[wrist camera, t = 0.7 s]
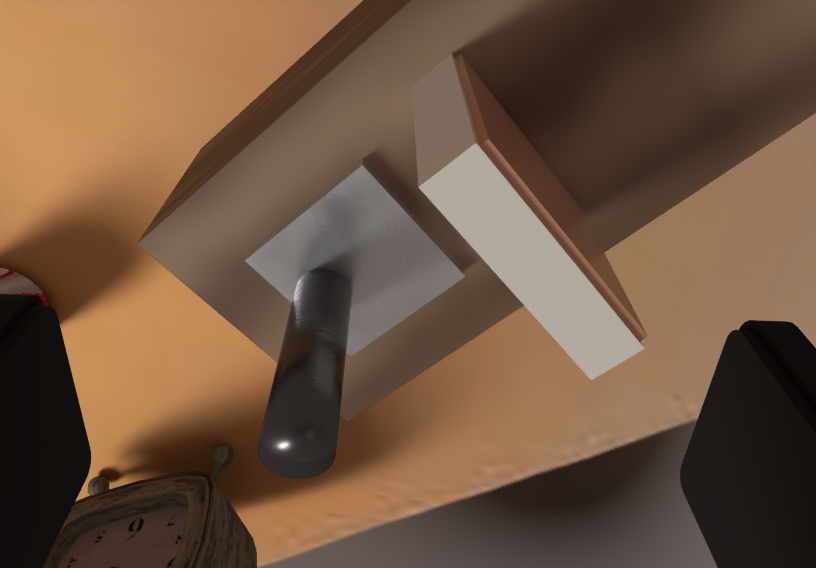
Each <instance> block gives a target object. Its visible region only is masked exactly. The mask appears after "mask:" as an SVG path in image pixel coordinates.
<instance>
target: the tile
mask: <svg viewBox="0 0 816 568" xmlns="http://www.w3.org/2000/svg"><path fill="white" fill-rule="evenodd" d="M412 94H413V110H414V126H415V141H416V157H417V173H418V187H419V188H420V190H421V191H422V192H423V193H424V194H425V195H426V196H427V197H428V199H429V200H430V201H431V202H432V203H433V204H434V205H435V206H436V207H437V209H438V210H439V211H440V212H441V213H442V214H443V215H444V216H445V217H446V219H447V220H448V221H449V222H450V223H451V224H452V225H453V226H454V228H455V229H456V230H457V231H458V232H459V233H460V234H461V235H462V236H463V238H464V239H465V240H466V241H467V242H468V243H469V244H470V245H471V247H472V248H473V249H474V250H475V251H476V252H477V253H478V254H479V255H480V257H481V258H482V259H483V260H484V261H485V262H486V263H487V264H488V265H489V267H490V268H491V269H492V270H493V271H494V272H495V273H496V274H497V276H498V277H499V278H500V279H501V280H502V281H503V282H504V283H505V284H506V286H507V287H508V288H509V289H510V290H511V291H512V292H513V293H514V295H515V296H516V297H517V298H518V299H519V300H520V301H521V302H522V303H523V305H524V306H525V307H526V308H527V309H528V310H529V311H530V312H531V313H532V315H533V316H534V317H535V318H536V319H537V320H538V321H539V322H540V324H541V325H542V326H543V327H544V328H545V329H546V330H547V331H548V332H549V334H550V335H551V336H552V337H553V338H554V339H555V340H556V341H557V343H558V344H559V345H560V346H561V347H562V348H563V349H564V350H565V351H566V353H567V354H568V355H569V356H570V357H571V358H572V359H573V360H574V362H575V363H576V364H577V365H578V366H579V367H580V368H581V369H582V370H583V372H584V373H585V374H586V375H587V376H588V377H589V378H590V379H591V380H593V379H594V378H596V377H598V376H599V375H601V374H603V373H604V372H606V371H608V370H609V369H611V368H613V367H615V366H616V365H618V364H620V363H621V362H623V361H625V360H626V359H628V358H630V357H631V356H633V355H635V354H636V353H638V352H640V351H641V350H643V349H644V347H643V345H642V343H641V340H642V339H644V338H646V337H647V334H646V332H645V330H644V328H643V326H642V324H641V322H640V320H639V319H638V317H637V315H636V313H635V311H634V309H633V307H632V305H631V303H630V301H629V299H628V297H627V296H626V294H625V292H624V290H623V288H622V286H621V284H620V282H619V280H618V278H617V276H616V274H615V273H614V271H613V269H612V267H611V265H610V263H609V261H608V259H607V257H606V255H605V253H604V252H603V250H602V248H601V246H600V244H599V242H598V240H597V238H596V236H595V234H594V232H593V230H592V229H591V227H590V225H589V223H588V221H587V219H586V217H585V215H584V213H583V211H582V209H581V208H580V206H579V205H578V204H577V202H576V201H575V200H574V199H573V197H572V196H571V195H570V193H569V192H568V191H567V190H566V188H565V187H564V186H563V184H562V183H561V182H560V181H559V179H558V178H557V177H556V175H555V174H554V173H553V172H552V170H551V169H550V168H549V166H548V165H547V164H546V163H545V161H544V160H543V159H542V157H541V156H540V155H539V153H538V152H537V151H536V150H535V148H534V147H533V146H532V144H531V143H530V142H529V141H528V139H527V138H526V137H525V135H524V134H523V133H522V132H521V130H520V129H519V128H518V126H517V125H516V124H515V123H514V121H513V120H512V119H511V117H510V116H509V115H508V114H507V112H506V111H505V110H504V108H503V107H502V106H501V104H500V103H499V102H498V101H497V99H496V98H495V97H494V95H493V94H492V93H491V92H490V90H489V89H488V88H487V86H486V85H485V84H484V83H483V81H482V80H481V79H480V77H479V76H478V75H477V74H476V72H475V71H474V70H473V68H472V67H471V66H470V65H469V63H468V62H467V61H466V59H465V58H464V57H463V55H462V54H460V55H459V56H458V57H456V58H455V57H454V56H453V55H452V54H450V55H449V56H448V57H447V58H445V59H444V60H443V61H442V62H441V63H439V64H438V65H437V66H436V67H435V68H433V69H432V70H431V71H430V72H429V73H428V74H426V75H425V76H424V77H423V78H422V79H420V80H419V81H418V82H417V83H416V84H414V85H413V86H412Z"/></svg>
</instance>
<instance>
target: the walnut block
mask: <svg viewBox="0 0 816 568" xmlns="http://www.w3.org/2000/svg"><path fill="white" fill-rule="evenodd" d="M450 54H452V55H453V56H454V57H455V58H456V57H458V56H459V55H460V54H462V55H463V57H464V58H465V59H466V61H467V62H468V63H469V65H470V66H471V67H472V68H473V70H474V71H475V72H476V74H477V75H478V76H479V77H480V79H481V80H482V81H483V83H484V84H485V85H486V86H487V88H488V89H489V90H490V92H491V93H492V94H493V95H494V97H495V98H496V99H497V101H498V102H499V103H500V104H501V106H502V107H503V108H504V110H505V111H506V112H507V114H508V115H509V116H510V117H511V119H512V120H513V121H514V123H515V124H516V125H517V126H518V128H519V129H520V130H521V132H522V133H523V134H524V135H525V137H526V138H527V139H528V141H529V142H530V143H531V144H532V146H533V147H534V148H535V150H536V151H537V152H538V153H539V155H540V156H541V157H542V159H543V160H544V161H545V163H546V164H547V165H548V166H549V168H550V169H551V170H552V172H553V173H554V174H555V175H556V177H557V178H558V179H559V181H560V182H561V183H562V184H563V186H564V187H565V188H566V190H567V191H568V192H569V193H570V195H571V196H572V197H573V199H574V200H575V201H576V202H577V204H578V205H579V206H580V208H581V209H582V211H583V213H584V215H585V217H586V219H587V221H588V223H589V225H590V227H591V229H592V230H593V232H594V234H595V236H596V238H597V240H598V242H599V244H600V246H601V248H602V250H603V252H605V251H607V250H609V249H610V248H612V247H613V246H615V245H616V244H618V243H619V242H621V241H622V240H624V239H625V238H627V237H628V236H630V235H631V234H633V233H634V232H636V231H637V230H639V229H640V228H642V227H643V226H645V225H646V224H648V223H649V222H651V221H653V220H654V219H656V218H657V217H659V216H660V215H662V214H663V213H665V212H666V211H668V210H669V209H671V208H672V207H674V206H675V205H677V204H678V203H680V202H681V201H683V200H684V199H686V198H687V197H689V196H690V195H692V194H693V193H695V192H697V191H698V190H700V189H701V188H703V187H704V186H706V185H707V184H709V183H710V182H712V181H713V180H715V179H716V178H718V177H719V176H721V175H722V174H724V173H725V172H727V171H728V170H730V169H731V168H733V167H734V166H736V165H737V164H739V163H741V162H742V161H744V160H745V159H747V158H748V157H750V156H751V155H753V154H754V153H756V152H757V151H759V150H760V149H762V148H763V147H765V146H766V145H768V144H769V143H771V142H772V141H774V140H775V139H777V138H778V137H780V136H781V135H783V134H785V133H786V132H788V131H789V130H791V129H792V128H794V127H795V126H797V125H798V124H800V123H801V122H803V121H804V120H806V119H807V118H809V117H810V116H812V115H813V114H815V113H816V0H363V1H362V2H361V3H360V4H359V5H358V6H357V7H356V8H355V9H354V10H352V11H351V12H350V13H349V14H348V15H347V16H346V17H345V18H344V19H343V20H342V21H340V22H339V23H338V24H337V25H336V26H335V27H334V28H333V29H332V30H331V31H329V32H328V33H327V34H326V35H325V36H324V37H323V38H322V39H321V40H320V41H319V42H317V43H316V44H315V45H314V46H313V47H312V48H311V49H310V50H309V51H308V52H306V53H305V54H304V55H303V56H302V57H301V58H300V59H299V60H298V61H297V62H296V63H294V64H293V65H292V66H291V67H290V68H289V69H288V70H287V71H286V72H285V73H284V74H282V75H281V76H280V77H279V78H278V79H277V80H276V81H275V82H274V83H273V84H271V85H270V86H269V87H268V88H267V89H266V90H265V91H264V92H263V93H262V94H261V95H259V96H258V97H257V98H256V99H255V100H254V101H253V102H252V103H251V104H250V105H249V106H247V107H246V108H245V109H244V110H243V111H242V112H241V113H240V114H239V115H238V116H236V117H235V118H234V119H233V120H232V121H231V122H230V123H229V124H228V125H227V126H226V127H224V128H223V129H222V130H221V131H220V132H219V133H218V134H217V135H216V136H215V137H213V138H212V139H211V140H210V141H209V142H208V143H207V144H206V145H205V146H204V147H203V148H201V150H200V151H199V153H198V154H197V156H196V157H195V159H194V160H193V162H192V163H191V164H190V166H189V167H188V169H187V170H186V172H185V173H184V175H183V176H182V178H181V179H180V181H179V182H178V184H177V185H176V187H175V188H174V190H173V191H172V193H171V194H170V196H169V197H168V199H167V200H166V202H165V203H164V205H163V206H162V208H161V209H160V211H159V212H158V214H157V215H156V217H155V218H154V220H153V221H152V222H151V224H150V225H149V227H148V228H147V230H146V231H145V233H144V234H143V236H142V237H141V239H140V240H139V242H138V243H137V244H138V245H139V246H140V247H141V248H142V249H144V250H145V251H146V252H147V253H148V254H149V255H151V256H152V257H153V258H154V259H155V260H157V261H158V262H159V263H160V264H161V265H162V266H164V267H165V268H166V269H167V270H168V271H170V272H171V273H172V274H173V275H174V276H175V277H177V278H178V279H179V280H180V281H181V282H183V283H184V284H185V285H186V286H187V287H188V288H190V289H191V290H192V291H193V292H194V293H196V294H197V295H198V296H199V297H200V298H201V299H203V300H204V301H205V302H206V303H207V304H209V305H210V306H211V307H212V308H213V309H214V310H216V311H217V312H218V313H219V314H220V315H222V316H223V317H224V318H225V319H226V320H227V321H229V322H230V323H231V324H232V325H233V326H235V327H236V328H237V329H238V330H239V331H240V332H242V333H243V334H244V335H245V336H246V337H248V338H249V339H250V340H251V341H252V342H254V343H255V344H256V345H257V346H258V347H259V348H261V349H262V350H263V351H264V352H265V353H267V354H268V355H269V356H270V357H271V358H272V359H274V360H275V361H276V362H277V363H278V359H279V355H280V351H281V347H282V342H283V338H284V334H285V330H286V325H287V321H288V317H289V313H290V309H291V304H292V303H291V302H290V301H289V300H288V299H287V298H285V297H284V296H283V295H282V294H281V293H280V292H279V291H278V290H277V289H275V288H274V287H273V286H272V285H271V284H270V283H269V282H268V281H267V280H266V279H264V278H263V277H262V276H261V275H260V274H259V273H258V272H257V271H256V270H254V269H253V268H252V267H251V266H250V265H249V264H248V263H247V262H246V261H245V259H246V256H247V253H248V252H249V251H250V250H251V249H252V248H254V247H255V246H256V245H257V244H258V243H260V242H261V241H262V240H263V239H265V238H266V237H267V236H268V235H270V234H271V233H272V232H273V231H274V230H276V229H277V228H278V227H279V226H281V225H282V224H283V223H284V222H285V221H287V220H288V219H289V218H290V217H292V216H293V215H294V214H295V213H296V212H298V211H299V210H300V209H301V208H303V207H304V206H305V205H306V204H307V203H309V202H310V201H311V200H312V199H314V198H315V197H316V196H317V195H319V194H320V193H321V192H322V191H323V190H325V189H326V188H327V187H328V186H330V185H331V184H332V183H333V182H334V181H336V180H337V179H338V178H339V177H341V176H342V175H343V174H344V173H345V172H347V171H348V170H349V169H350V168H352V167H353V166H354V165H355V164H357V163H358V162H359V161H360V160H361V159H363V158H364V159H365V160H366V162H367V163H368V164H369V165H370V166H371V167H372V168H373V169H374V170H375V171H376V172H377V174H378V175H379V176H380V177H381V178H382V179H383V180H384V181H385V182H386V183H387V184H388V186H389V187H390V188H391V189H392V190H393V191H394V192H395V193H396V194H397V195H398V196H399V197H400V199H401V200H402V201H403V202H404V203H405V204H406V205H407V206H408V207H409V208H410V209H411V211H412V212H413V213H414V214H415V215H416V216H417V217H418V218H419V219H420V220H421V221H422V223H423V224H424V225H425V226H426V227H427V228H428V229H429V230H430V231H431V232H432V233H433V234H434V236H435V237H436V238H437V239H438V240H439V241H440V242H441V243H442V244H443V245H444V246H445V248H446V249H447V250H448V251H449V252H450V253H451V254H452V255H453V256H454V257H455V258H456V260H457V261H458V262H459V263H460V264H461V265H462V266H463V267H464V270H465V277H464V278H463V279H461V280H460V281H458V282H457V283H456V284H454V285H453V286H451V287H450V288H448V289H447V290H446V291H444V292H443V293H441V294H440V295H438V296H437V297H436V298H434V299H433V300H431V301H430V302H428V303H427V304H426V305H424V306H423V307H421V308H420V309H418V310H417V311H416V312H414V313H413V314H411V315H410V316H408V317H407V318H405V319H404V320H403V321H401V322H400V323H398V324H397V325H395V326H394V327H393V328H391V329H390V330H388V331H387V332H385V333H384V334H383V335H381V336H380V337H378V338H377V339H375V340H374V341H373V342H371V343H370V344H368V345H367V346H365V347H364V348H363V349H361V350H360V351H358V352H357V353H355V354H354V355H352V356H350V355H348V354H347V353H346V358H345V368H344V378H343V387H342V397H341V406H340V416H341V417H342V418H343V419H345V420H346V421H347V422H348V421H349V420H351V419H352V418H354V417H355V416H357V415H358V414H360V413H361V412H363V411H364V410H366V409H367V408H369V407H370V406H372V405H373V404H375V403H376V402H378V401H379V400H381V399H382V398H384V397H385V396H387V395H388V394H390V393H392V392H393V391H395V390H396V389H398V388H399V387H401V386H402V385H404V384H405V383H407V382H408V381H410V380H411V379H413V378H414V377H416V376H417V375H419V374H420V373H422V372H423V371H425V370H426V369H428V368H429V367H431V366H432V365H434V364H436V363H437V362H439V361H440V360H442V359H443V358H445V357H446V356H448V355H449V354H451V353H452V352H454V351H455V350H457V349H458V348H460V347H461V346H463V345H464V344H466V343H467V342H469V341H470V340H472V339H473V338H475V337H476V336H478V335H480V334H481V333H483V332H484V331H486V330H487V329H489V328H490V327H492V326H493V325H495V324H496V323H498V322H499V321H501V320H502V319H504V318H505V317H507V316H508V315H510V314H511V313H513V312H514V311H516V310H517V309H519V308H521V307H522V306H524V305H523V303H522V302H521V301H520V300H519V299H518V298H517V297H516V296H515V295H514V293H513V292H512V291H511V290H510V289H509V288H508V287H507V286H506V284H505V283H504V282H503V281H502V280H501V279H500V278H499V277H498V276H497V274H496V273H495V272H494V271H493V270H492V269H491V268H490V267H489V265H488V264H487V263H486V262H485V261H484V260H483V259H482V258H481V257H480V255H479V254H478V253H477V252H476V251H475V250H474V249H473V248H472V247H471V245H470V244H469V243H468V242H467V241H466V240H465V239H464V238H463V236H462V235H461V234H460V233H459V232H458V231H457V230H456V229H455V228H454V226H453V225H452V224H451V223H450V222H449V221H448V220H447V219H446V217H445V216H444V215H443V214H442V213H441V212H440V211H439V210H438V209H437V207H436V206H435V205H434V204H433V203H432V202H431V201H430V200H429V199H428V197H427V196H426V195H425V194H424V193H423V192H422V191H421V190H420V188H419V187H418V173H417V157H416V141H415V126H414V110H413V94H412V86H413V85H414V84H416V83H417V82H418V81H419V80H420V79H422V78H423V77H424V76H425V75H426V74H428V73H429V72H430V71H431V70H432V69H433V68H435V67H436V66H437V65H438V64H439V63H441V62H442V61H443V60H444V59H445V58H447V57H448V56H449V55H450Z"/></svg>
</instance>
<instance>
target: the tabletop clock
mask: <svg viewBox="0 0 816 568" xmlns="http://www.w3.org/2000/svg"><path fill="white" fill-rule="evenodd" d="M211 458H212V462H213V463H214V464H215V466H214V468H213V470H212V472H211V473H204V472H184V473H178V474H172V475H167V476H162V477H156V478H151V479H146V480H141V481H136V482H133V483H130V484H126V485H123V486H120V487H116V488H113V489H110V490H109V481H108V480H107V479H106V478H104V477H101V476H98V477H95V478H93V479H92V480H90V482H89V484H88V493H89V494H90V495H91V496H88V497H85V498H83V499H81V500H78V501H76V502H75V503H74V505H73V507H72V509H71V511H70V513H69V515H68V517H67V519H66V521H65V523H64V525H63V527H62V529H61V531H60V533H59V535H58V537H57V539H56V541H55V543H54V545H53V547H52V549H51V551H50V553H49V555H48V557H47V559H46V561H45V563H44V565H43V567H42V568H257V552H256V548H255V544H254V541H253V538H252V536H251V535H250V533H249V532H248V530H247V528H246V527H245V525H244V524H243V522H242V521H241V519H240V518H239V516H238V515H237V513H236V512H235V510H234V509H233V507H232V505H231V504H230V502H229V501H228V499H227V498H226V496H225V495H224V493H223V492H222V490H221V489H220V487H219V486H218V484H217V480H218V477H219V474H220V470H221V467H225V466H228V465H229V464H230V463H231V461H232V459H233V452H232V450H231V449H230V448H229V447H228V446H224V445H222V446H218V447H216V448H215V449H214V451H213V453H212V457H211Z"/></svg>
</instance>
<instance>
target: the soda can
mask: <svg viewBox="0 0 816 568" xmlns="http://www.w3.org/2000/svg"><path fill="white" fill-rule="evenodd" d="M0 294H21V295H36V296H38V297H39V298H40V299H41V300H42V302H43V304H44V306H50V307H51V304H50V302H49V300H48V298H47V297H46V295H45V294H44V292H43V291H42V290H41V289H40V288H39V287H38V286H37V285H36V284H35V283H34V282H32V281H31V280H30V279H28V278H27V277H25V276H23V275H21V274H19V273H17V272H14V271H12V270H9V269H5V268H0Z"/></svg>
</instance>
